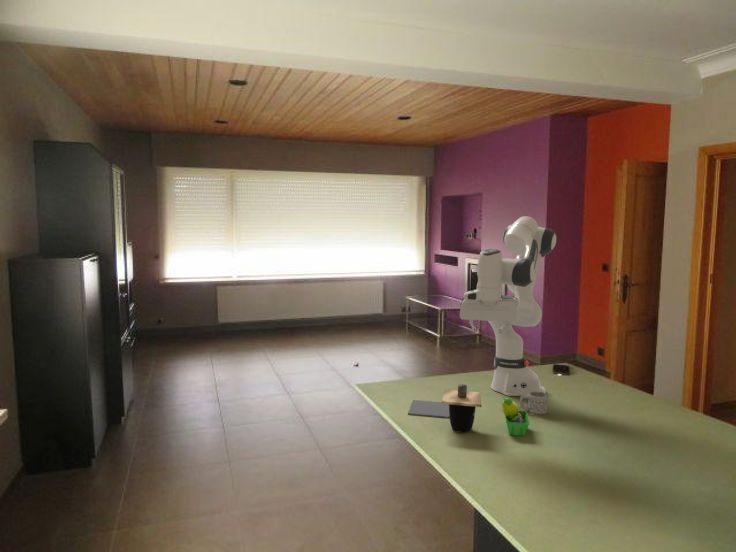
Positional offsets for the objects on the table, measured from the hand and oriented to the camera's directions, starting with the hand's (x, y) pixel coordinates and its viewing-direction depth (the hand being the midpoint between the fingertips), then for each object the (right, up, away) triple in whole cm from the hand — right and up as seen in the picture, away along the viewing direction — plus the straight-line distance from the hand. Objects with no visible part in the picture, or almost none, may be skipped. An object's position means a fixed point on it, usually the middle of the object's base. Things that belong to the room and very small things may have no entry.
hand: (487, 332), depth 189 cm
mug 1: (-11, -32, -8) cm, 35 cm away
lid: (-11, -22, -9) cm, 26 cm away
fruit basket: (+7, -33, -10) cm, 35 cm away
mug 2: (+19, -31, +9) cm, 38 cm away
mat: (-20, -30, +9) cm, 37 cm away
